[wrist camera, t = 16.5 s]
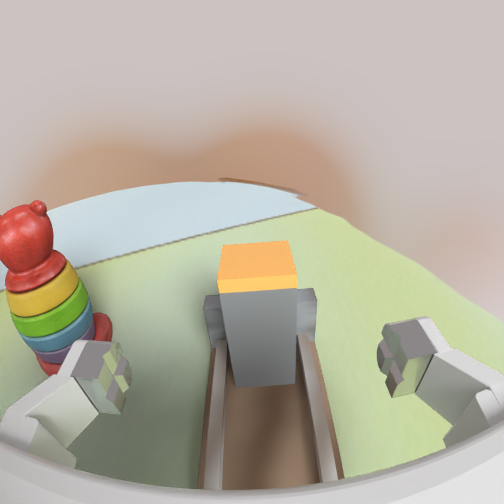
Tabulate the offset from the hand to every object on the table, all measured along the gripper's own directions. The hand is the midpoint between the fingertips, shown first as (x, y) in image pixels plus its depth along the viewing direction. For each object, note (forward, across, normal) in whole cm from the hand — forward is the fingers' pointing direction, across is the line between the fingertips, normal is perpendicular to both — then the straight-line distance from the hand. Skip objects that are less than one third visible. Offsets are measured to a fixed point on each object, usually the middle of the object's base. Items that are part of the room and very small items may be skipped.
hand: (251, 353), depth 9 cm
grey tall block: (+12, 0, +15) cm, 19 cm away
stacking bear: (+15, +22, +16) cm, 31 cm away
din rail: (+8, 0, +16) cm, 17 cm away
